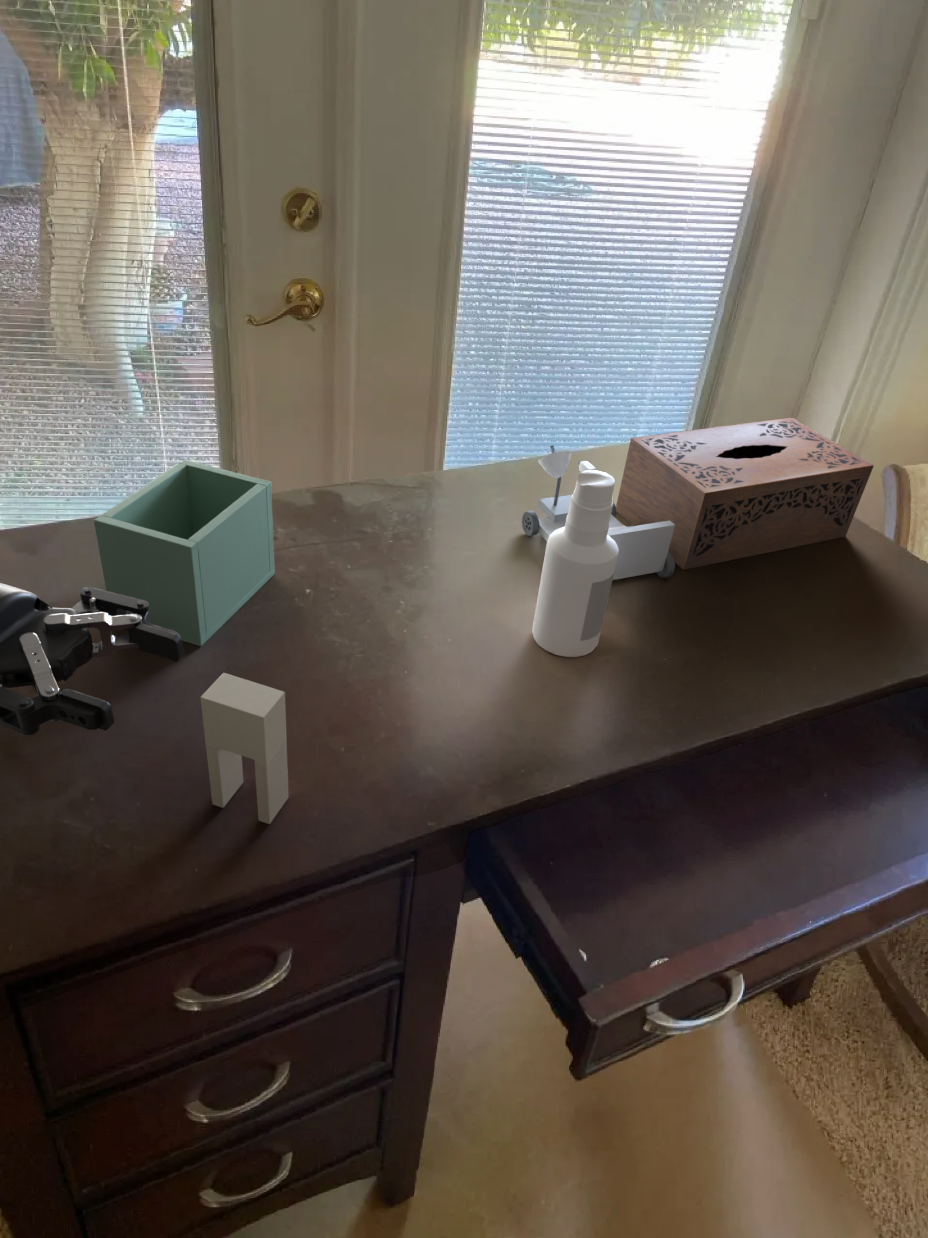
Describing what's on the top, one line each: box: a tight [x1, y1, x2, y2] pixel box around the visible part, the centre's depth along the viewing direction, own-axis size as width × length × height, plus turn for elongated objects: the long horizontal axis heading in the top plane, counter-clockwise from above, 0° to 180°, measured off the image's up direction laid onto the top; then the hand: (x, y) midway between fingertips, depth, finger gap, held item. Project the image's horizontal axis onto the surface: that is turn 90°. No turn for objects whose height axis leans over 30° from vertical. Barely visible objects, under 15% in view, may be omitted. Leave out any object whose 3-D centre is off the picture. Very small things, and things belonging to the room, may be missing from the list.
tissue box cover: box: [615, 417, 875, 571], centre depth 110 cm, size 26×14×10 cm, turn 115°
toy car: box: [521, 444, 676, 581], centre depth 102 cm, size 18×10×12 cm
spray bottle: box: [531, 470, 619, 658], centre depth 85 cm, size 7×7×18 cm
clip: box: [199, 672, 290, 825], centre depth 66 cm, size 5×3×11 cm, turn 71°
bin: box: [93, 458, 276, 647], centre depth 87 cm, size 14×10×11 cm
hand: (147, 681), depth 65 cm, fingers open, 8 cm apart
